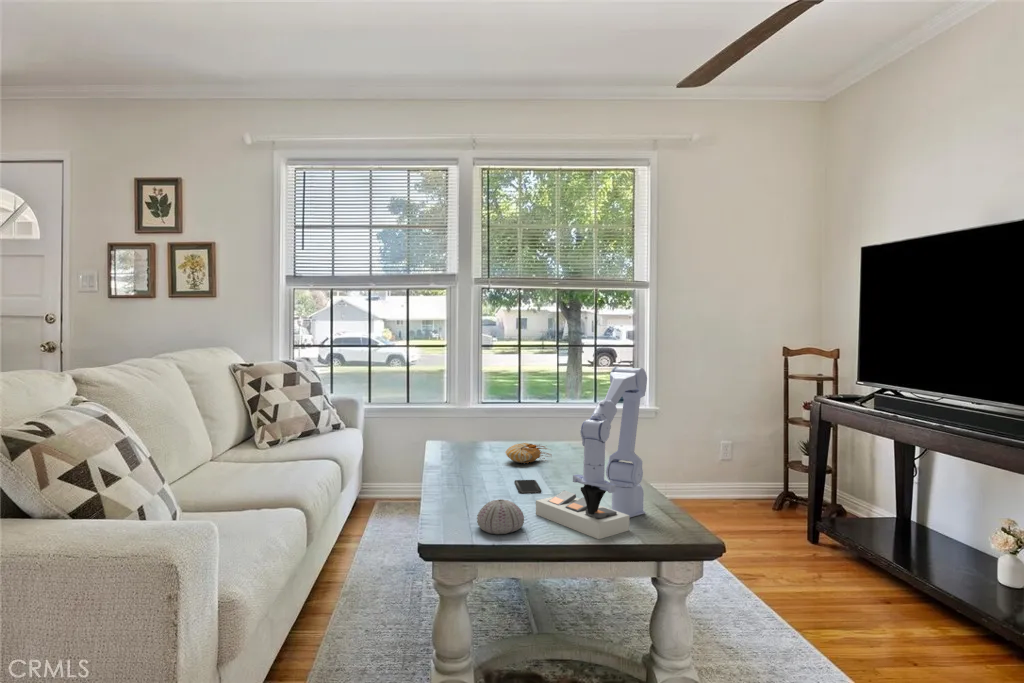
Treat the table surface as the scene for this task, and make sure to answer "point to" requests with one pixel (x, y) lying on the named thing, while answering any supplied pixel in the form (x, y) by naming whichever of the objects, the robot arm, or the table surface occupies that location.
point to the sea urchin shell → (500, 517)
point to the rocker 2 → (602, 513)
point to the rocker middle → (578, 505)
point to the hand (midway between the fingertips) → (592, 513)
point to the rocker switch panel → (583, 519)
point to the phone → (527, 486)
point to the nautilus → (524, 452)
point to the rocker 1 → (563, 498)
